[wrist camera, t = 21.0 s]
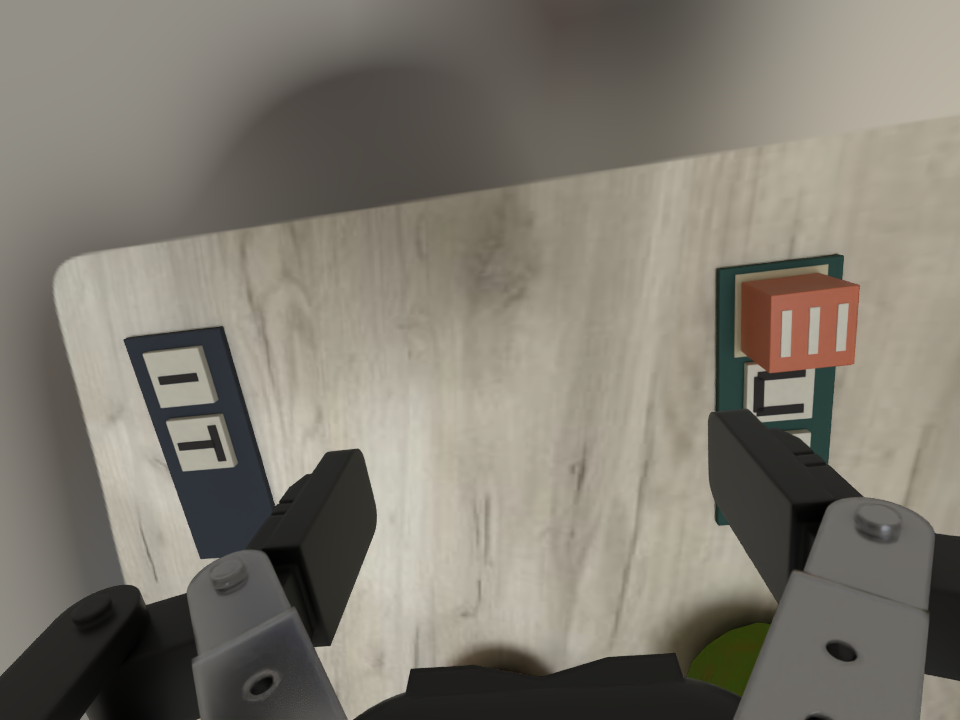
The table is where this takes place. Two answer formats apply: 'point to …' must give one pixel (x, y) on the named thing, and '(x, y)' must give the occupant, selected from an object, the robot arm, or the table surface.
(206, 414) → the far word mat
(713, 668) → the apple
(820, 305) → the red striped block
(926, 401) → the table surface
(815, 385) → the near word mat
